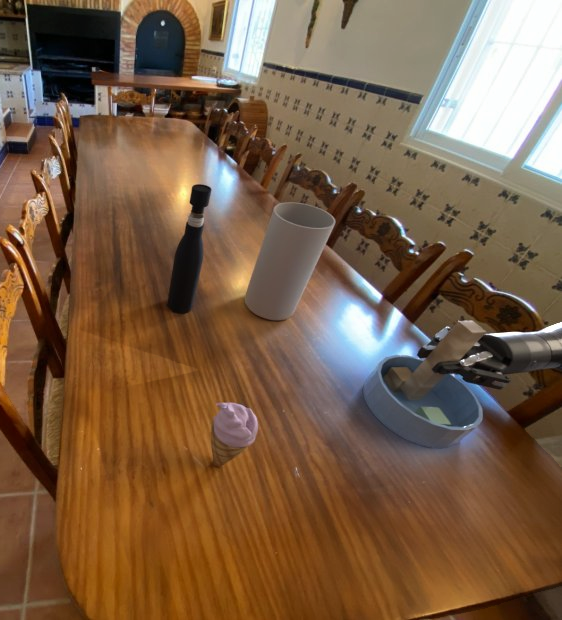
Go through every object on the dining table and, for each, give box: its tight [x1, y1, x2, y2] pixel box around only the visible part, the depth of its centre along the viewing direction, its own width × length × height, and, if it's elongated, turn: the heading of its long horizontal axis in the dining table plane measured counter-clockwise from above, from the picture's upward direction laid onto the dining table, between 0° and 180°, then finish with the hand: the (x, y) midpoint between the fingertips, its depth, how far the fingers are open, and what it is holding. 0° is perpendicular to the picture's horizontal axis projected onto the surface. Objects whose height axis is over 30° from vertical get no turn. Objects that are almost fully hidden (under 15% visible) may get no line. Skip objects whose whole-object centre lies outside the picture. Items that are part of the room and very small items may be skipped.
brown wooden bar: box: [400, 320, 487, 400], centre depth 64 cm, size 3×3×18 cm
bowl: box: [362, 354, 484, 449], centre depth 68 cm, size 17×17×6 cm
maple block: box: [383, 367, 413, 392], centre depth 72 cm, size 4×4×4 cm
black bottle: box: [166, 183, 212, 315], centre depth 79 cm, size 6×6×30 cm
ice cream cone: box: [210, 402, 259, 468], centre depth 54 cm, size 7×6×15 cm
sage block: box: [415, 407, 451, 426], centre depth 65 cm, size 4×4×4 cm
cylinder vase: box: [243, 201, 336, 321], centre depth 83 cm, size 12×12×25 cm
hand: (428, 360), depth 63 cm, fingers closed on brown wooden bar, 3 cm apart
